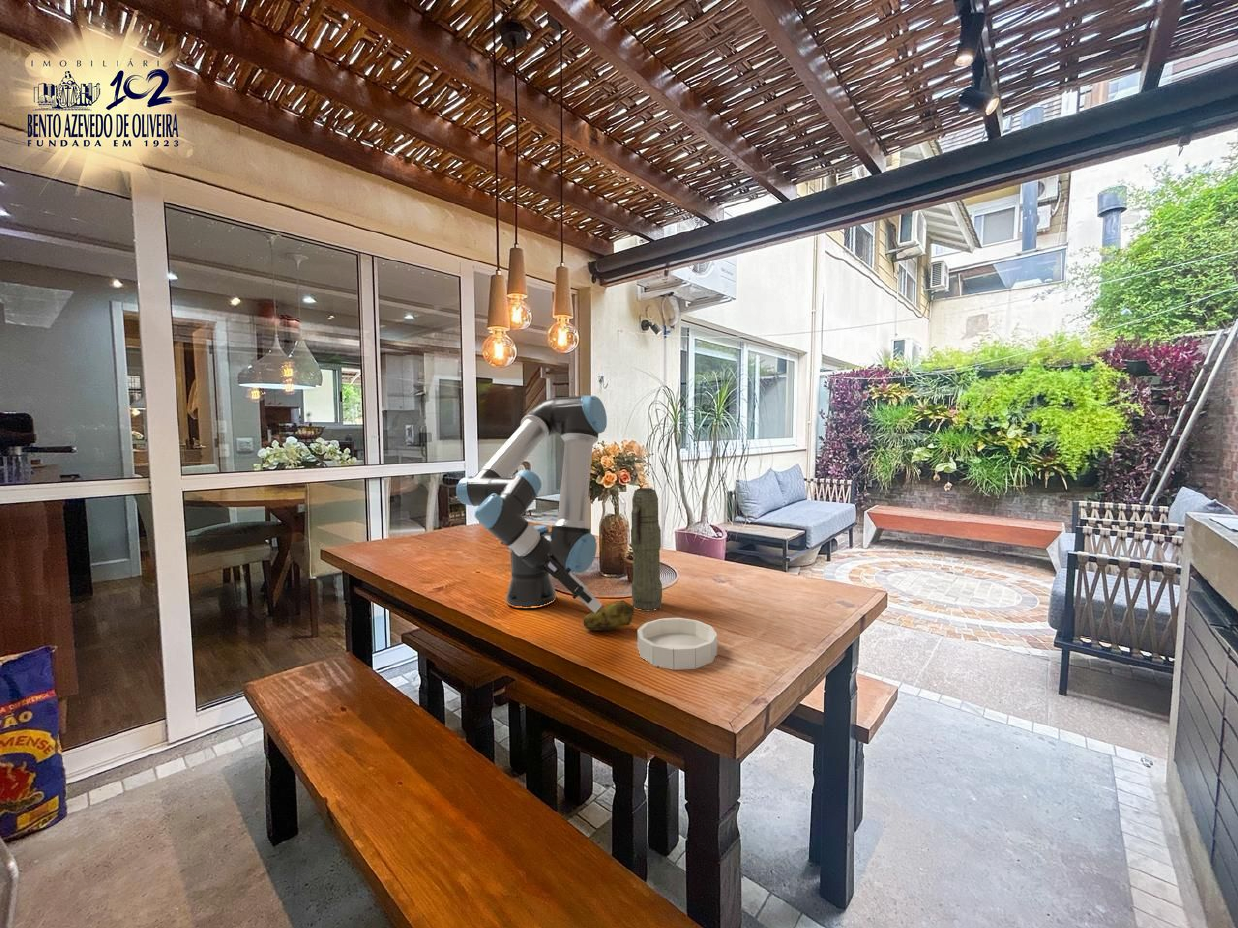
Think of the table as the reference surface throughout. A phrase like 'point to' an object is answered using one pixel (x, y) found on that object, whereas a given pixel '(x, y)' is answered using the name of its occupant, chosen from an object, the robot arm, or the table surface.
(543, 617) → the table surface
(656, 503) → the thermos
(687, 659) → the bowl
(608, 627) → the potato
